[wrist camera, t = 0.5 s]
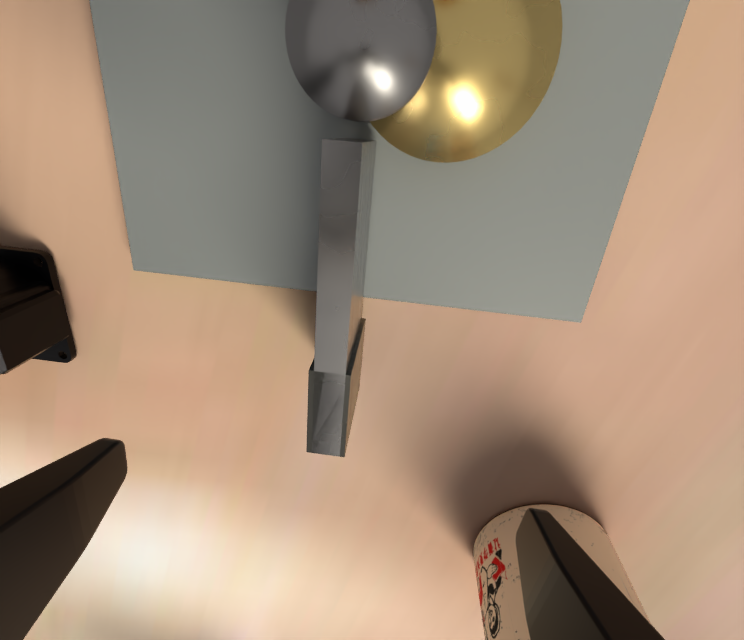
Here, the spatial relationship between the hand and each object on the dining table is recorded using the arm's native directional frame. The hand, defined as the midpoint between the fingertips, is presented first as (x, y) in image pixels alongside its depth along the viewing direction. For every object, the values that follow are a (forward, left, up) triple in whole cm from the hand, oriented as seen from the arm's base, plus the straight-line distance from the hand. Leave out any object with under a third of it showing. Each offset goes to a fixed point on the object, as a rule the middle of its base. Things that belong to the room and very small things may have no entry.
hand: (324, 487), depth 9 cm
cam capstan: (+1, +4, -12) cm, 12 cm away
